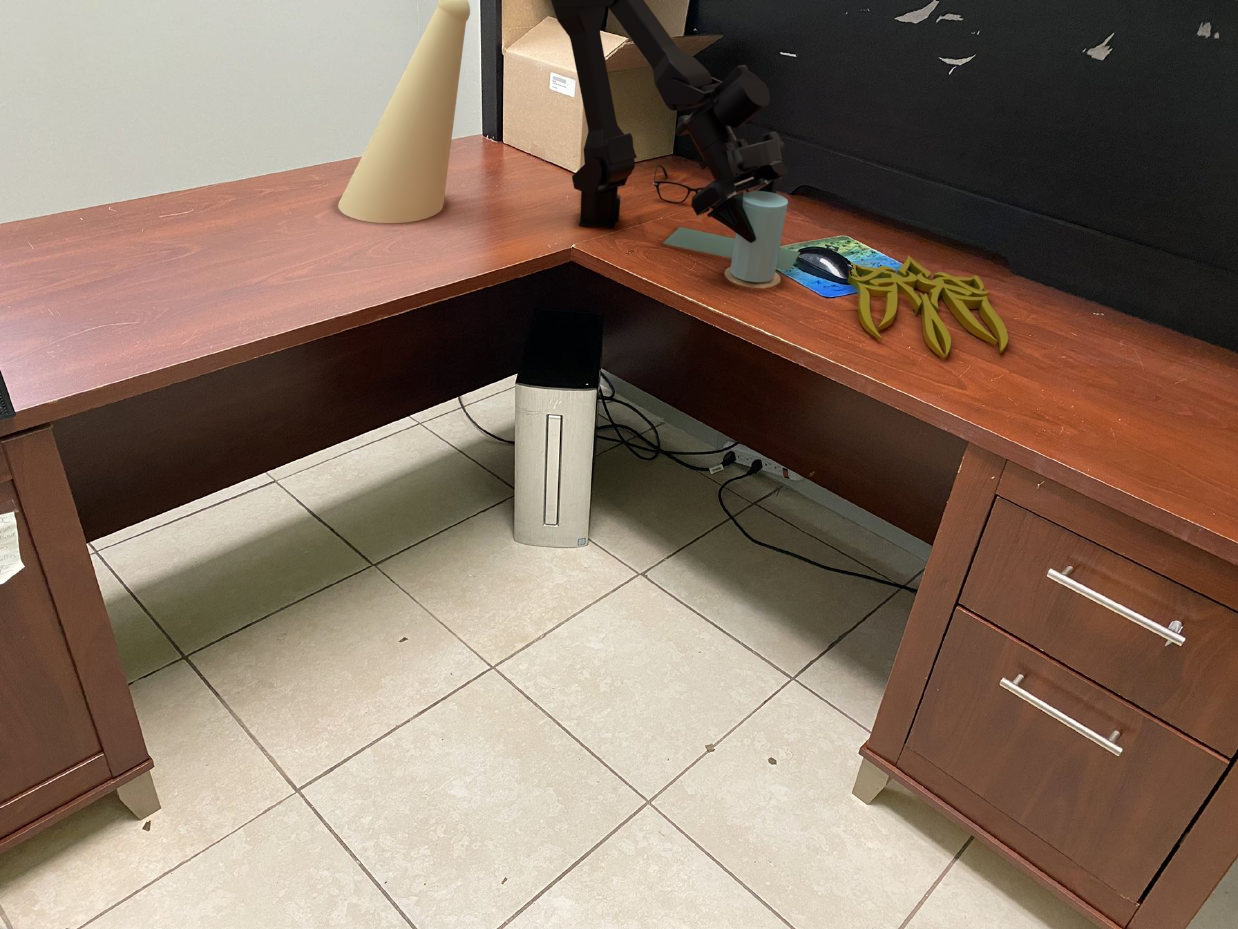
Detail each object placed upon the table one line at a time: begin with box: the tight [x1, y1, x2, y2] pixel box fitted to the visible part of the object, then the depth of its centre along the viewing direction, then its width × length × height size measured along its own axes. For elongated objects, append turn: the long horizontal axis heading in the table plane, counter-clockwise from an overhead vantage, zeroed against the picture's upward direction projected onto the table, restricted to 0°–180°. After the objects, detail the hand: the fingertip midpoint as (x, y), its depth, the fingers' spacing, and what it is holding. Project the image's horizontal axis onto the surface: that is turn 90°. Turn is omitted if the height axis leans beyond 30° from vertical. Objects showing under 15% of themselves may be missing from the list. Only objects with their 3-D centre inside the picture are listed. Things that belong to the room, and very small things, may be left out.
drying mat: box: [662, 226, 801, 272], centre depth 148 cm, size 22×9×1 cm, turn 68°
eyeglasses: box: [652, 164, 736, 204], centre depth 170 cm, size 16×16×4 cm
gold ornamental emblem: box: [847, 254, 1009, 359], centre depth 133 cm, size 22×2×35 cm
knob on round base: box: [723, 266, 781, 289], centre depth 137 cm, size 9×9×6 cm
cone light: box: [337, 0, 471, 224], centre depth 144 cm, size 25×18×35 cm
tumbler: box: [730, 191, 789, 282], centre depth 134 cm, size 7×7×12 cm
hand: (766, 235), depth 133 cm, fingers closed on tumbler, 7 cm apart
